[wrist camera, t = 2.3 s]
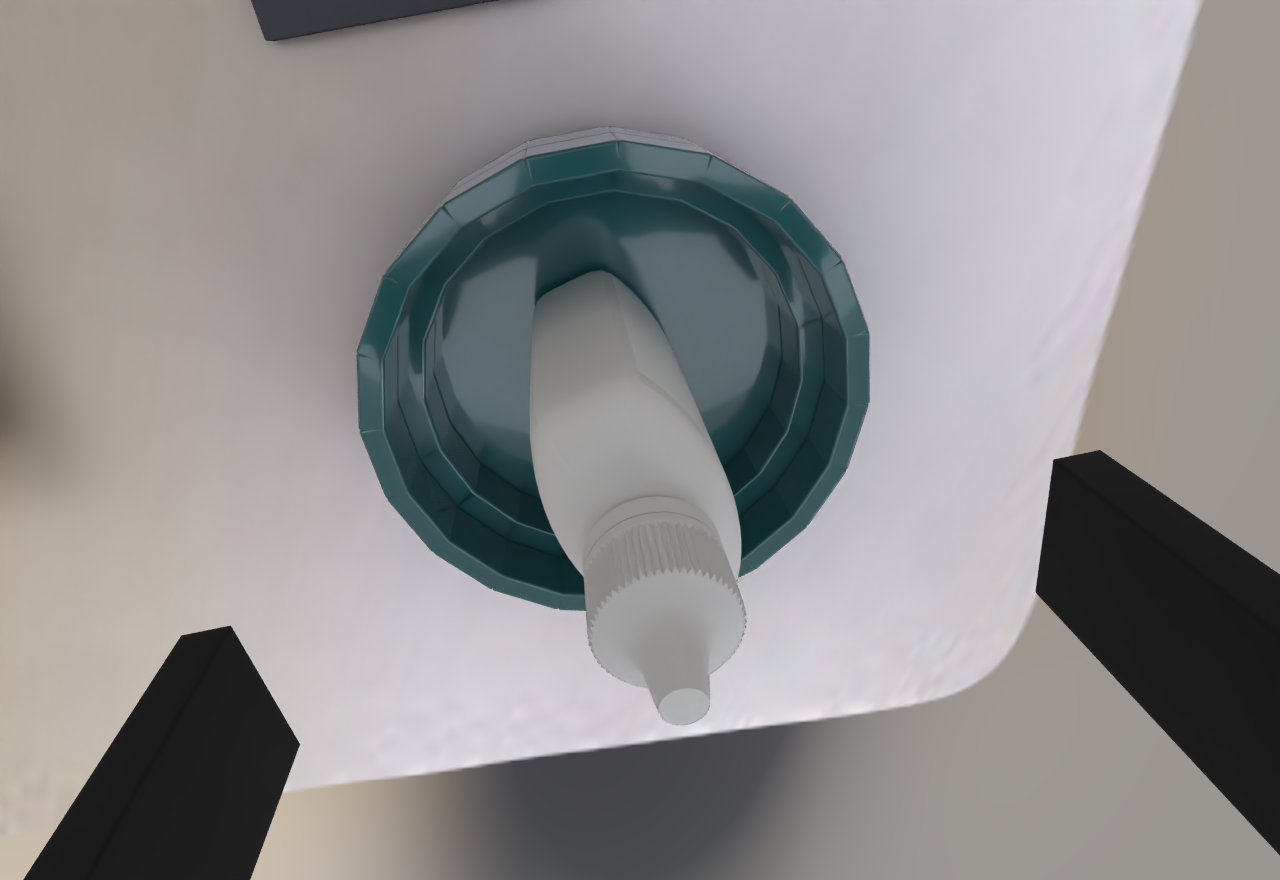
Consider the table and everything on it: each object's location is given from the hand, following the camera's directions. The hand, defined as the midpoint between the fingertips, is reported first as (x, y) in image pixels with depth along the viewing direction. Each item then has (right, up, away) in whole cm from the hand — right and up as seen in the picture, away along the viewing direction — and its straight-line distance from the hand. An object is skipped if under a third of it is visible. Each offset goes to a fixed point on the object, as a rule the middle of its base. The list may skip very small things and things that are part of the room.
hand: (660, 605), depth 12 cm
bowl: (-1, +5, +9) cm, 10 cm away
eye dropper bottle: (-1, +5, +9) cm, 10 cm away
